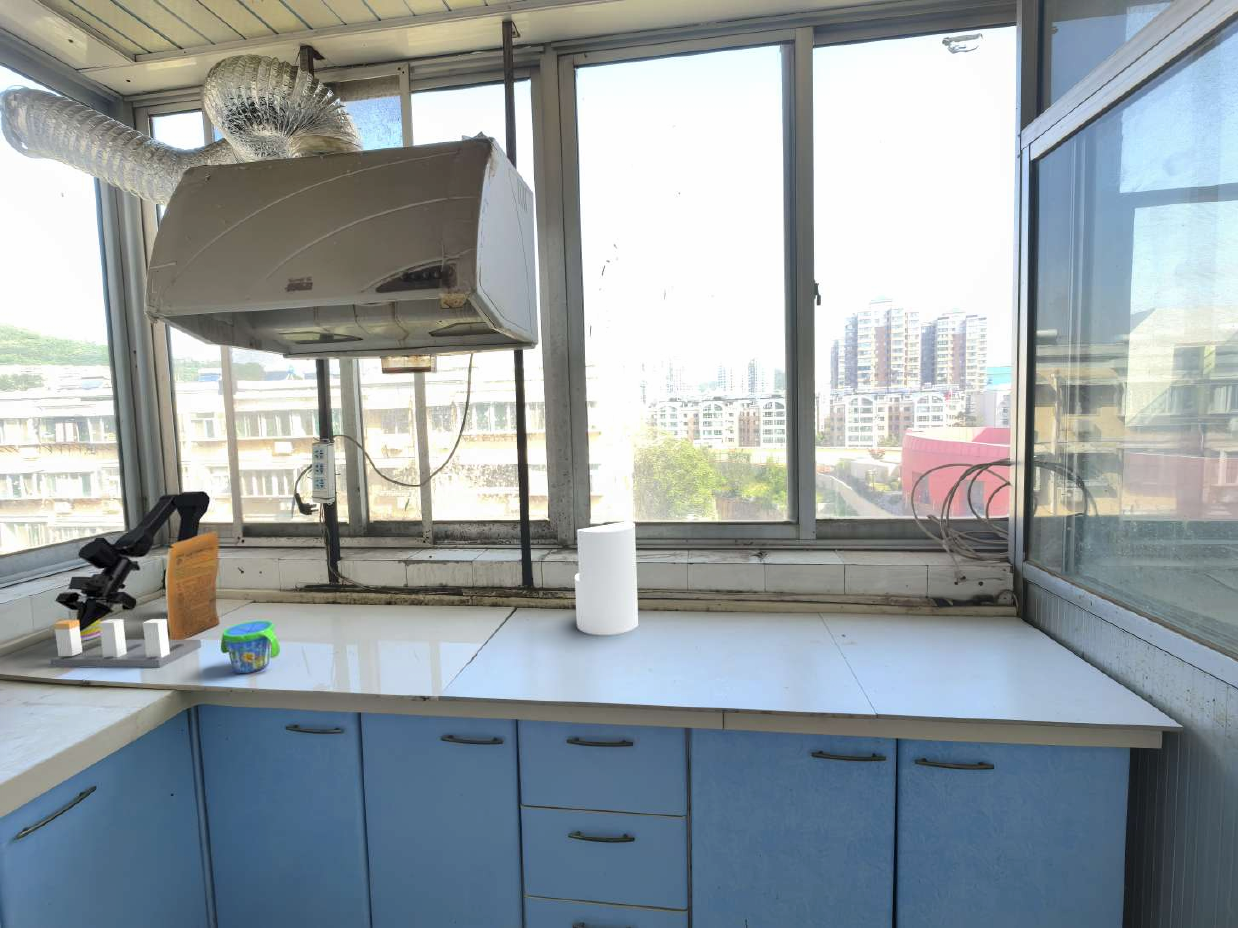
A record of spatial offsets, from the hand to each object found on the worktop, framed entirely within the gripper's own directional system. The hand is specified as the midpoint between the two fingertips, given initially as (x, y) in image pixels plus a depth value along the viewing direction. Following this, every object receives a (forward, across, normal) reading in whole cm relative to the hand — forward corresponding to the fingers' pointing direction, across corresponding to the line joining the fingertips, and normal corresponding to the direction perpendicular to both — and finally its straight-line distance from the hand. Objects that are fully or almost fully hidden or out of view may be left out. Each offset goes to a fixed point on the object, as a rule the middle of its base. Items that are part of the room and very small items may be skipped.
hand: (77, 631), depth 154 cm
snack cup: (+9, +51, +2) cm, 52 cm away
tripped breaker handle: (+5, 0, +2) cm, 6 cm away
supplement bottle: (-5, -14, +16) cm, 22 cm away
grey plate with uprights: (+4, +12, +7) cm, 14 cm away
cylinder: (-13, +135, +24) cm, 138 cm away
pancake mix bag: (-8, +16, +20) cm, 27 cm away
